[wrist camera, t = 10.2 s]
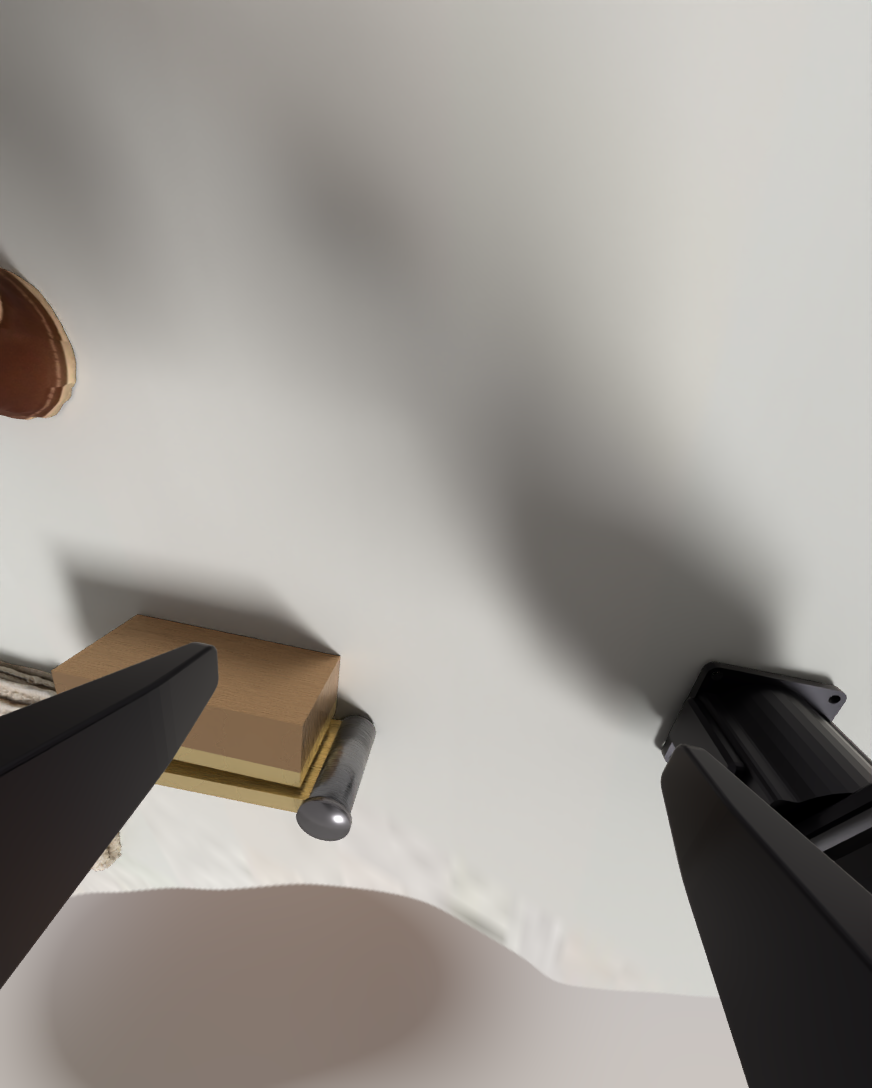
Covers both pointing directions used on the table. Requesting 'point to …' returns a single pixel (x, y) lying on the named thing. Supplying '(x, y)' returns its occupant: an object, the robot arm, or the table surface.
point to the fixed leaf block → (232, 695)
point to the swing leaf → (321, 791)
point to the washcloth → (22, 686)
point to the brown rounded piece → (31, 353)
